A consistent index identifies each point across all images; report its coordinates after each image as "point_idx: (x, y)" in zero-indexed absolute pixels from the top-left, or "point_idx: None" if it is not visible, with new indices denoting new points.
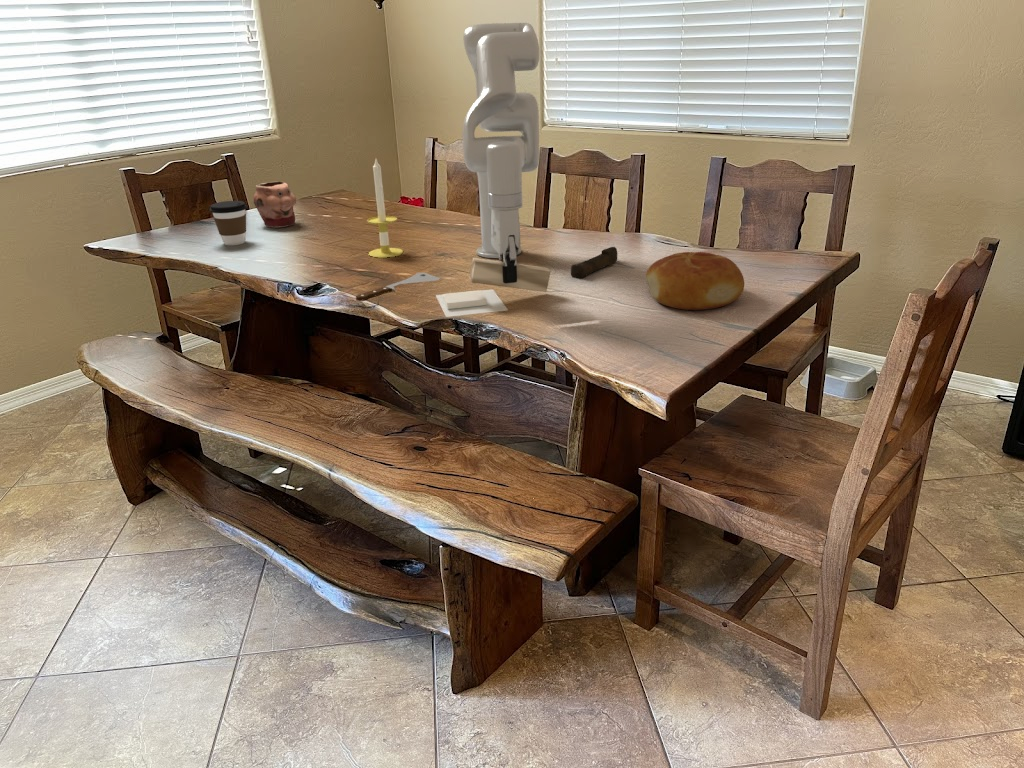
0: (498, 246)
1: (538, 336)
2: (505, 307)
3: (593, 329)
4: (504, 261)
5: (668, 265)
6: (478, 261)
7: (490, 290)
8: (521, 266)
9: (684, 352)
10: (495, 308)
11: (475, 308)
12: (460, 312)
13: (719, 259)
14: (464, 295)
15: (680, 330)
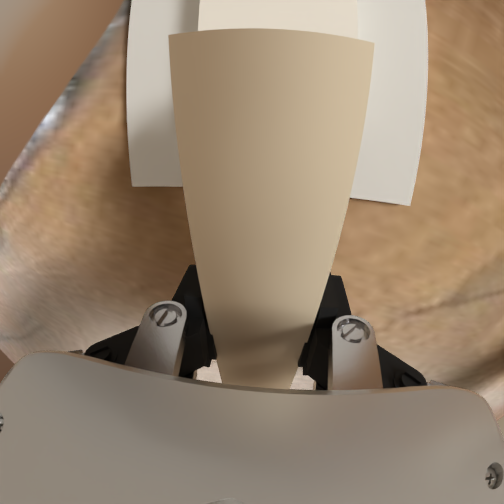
0: (22, 414)
1: (5, 220)
2: (162, 184)
3: (44, 318)
4: (142, 332)
5: None
6: (185, 76)
7: (402, 191)
8: (242, 375)
9: (13, 352)
10: (160, 144)
11: None
12: (161, 8)
13: None
14: (294, 28)
15: None
